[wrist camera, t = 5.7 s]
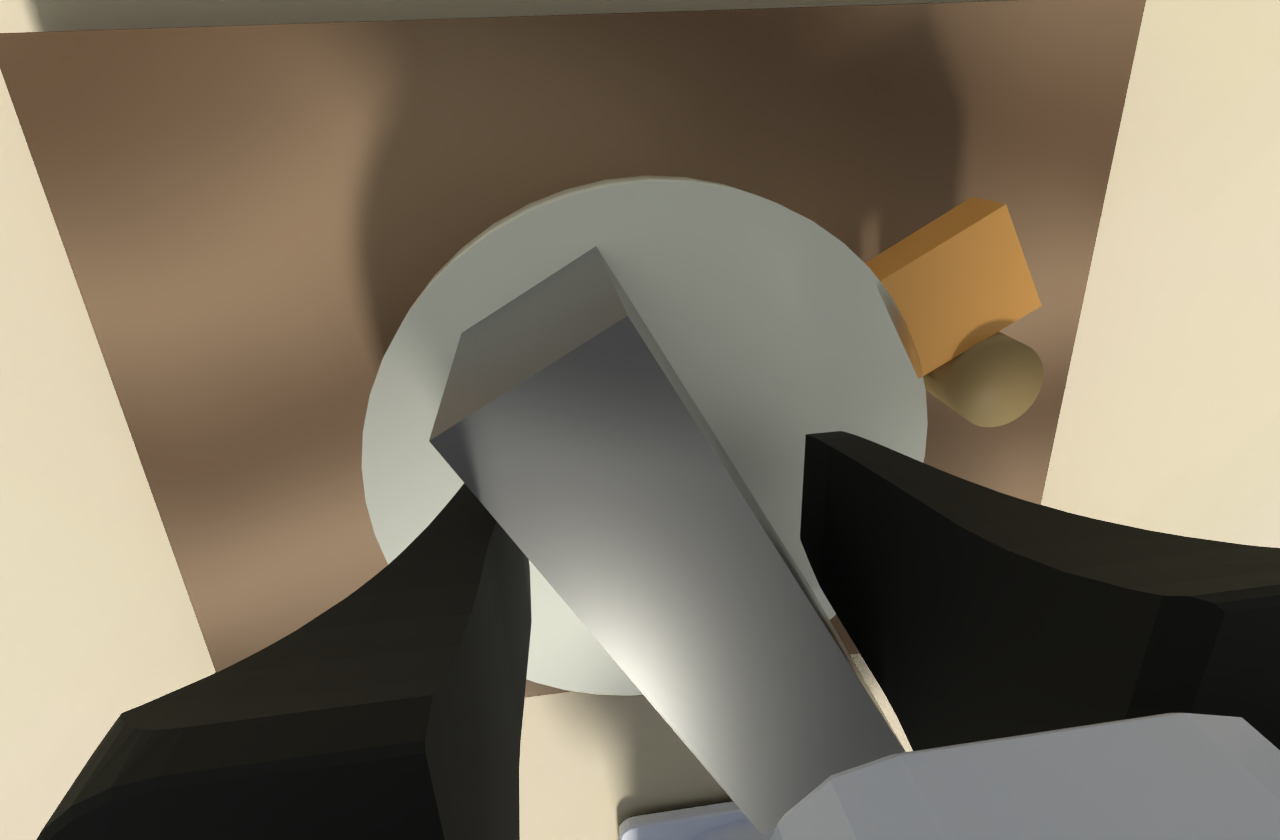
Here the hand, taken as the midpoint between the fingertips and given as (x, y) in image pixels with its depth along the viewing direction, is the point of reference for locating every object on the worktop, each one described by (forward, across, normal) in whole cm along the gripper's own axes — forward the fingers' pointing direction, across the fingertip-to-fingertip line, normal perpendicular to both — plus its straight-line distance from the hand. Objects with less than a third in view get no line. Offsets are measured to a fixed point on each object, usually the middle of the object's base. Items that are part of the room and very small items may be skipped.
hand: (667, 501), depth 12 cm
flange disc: (+2, -1, 0) cm, 2 cm away
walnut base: (+5, 0, 0) cm, 5 cm away
